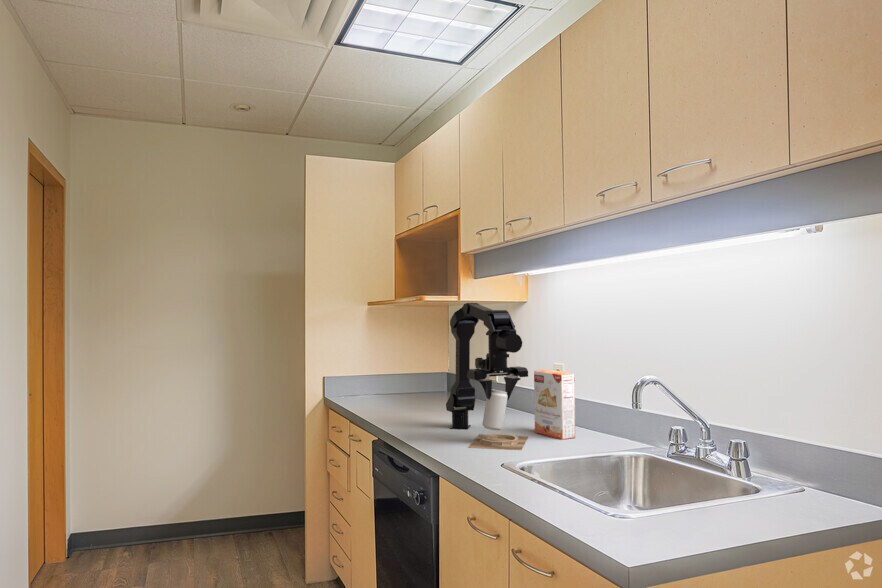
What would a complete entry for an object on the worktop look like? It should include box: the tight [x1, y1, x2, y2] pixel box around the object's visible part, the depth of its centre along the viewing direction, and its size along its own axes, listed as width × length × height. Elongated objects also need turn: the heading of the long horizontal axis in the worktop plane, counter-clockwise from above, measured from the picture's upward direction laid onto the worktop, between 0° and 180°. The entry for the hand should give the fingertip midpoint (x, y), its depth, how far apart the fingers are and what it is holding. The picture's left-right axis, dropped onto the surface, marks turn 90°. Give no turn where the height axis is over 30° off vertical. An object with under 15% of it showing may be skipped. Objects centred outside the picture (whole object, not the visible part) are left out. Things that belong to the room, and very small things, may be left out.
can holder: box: [467, 433, 529, 451], centre depth 201 cm, size 20×16×2 cm
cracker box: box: [533, 369, 576, 441], centre depth 211 cm, size 14×6×21 cm, turn 30°
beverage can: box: [481, 388, 508, 431], centre depth 201 cm, size 6×6×12 cm
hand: (498, 400), depth 201 cm, fingers closed on beverage can, 6 cm apart
